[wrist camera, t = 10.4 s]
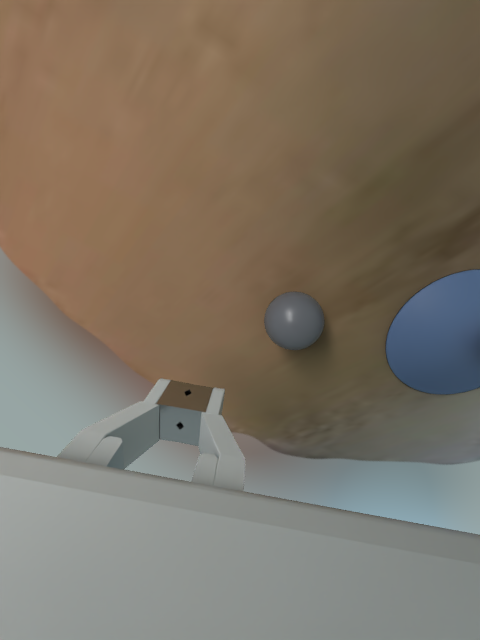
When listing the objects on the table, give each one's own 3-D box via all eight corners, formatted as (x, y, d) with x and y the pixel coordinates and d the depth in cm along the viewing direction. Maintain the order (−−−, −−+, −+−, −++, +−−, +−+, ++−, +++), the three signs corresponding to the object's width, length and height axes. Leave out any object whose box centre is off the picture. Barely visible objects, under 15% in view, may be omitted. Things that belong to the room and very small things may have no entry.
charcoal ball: (325, 345, 18) (342, 327, 22) (290, 283, 18) (314, 278, 22) (271, 366, 21) (295, 347, 25) (243, 313, 21) (271, 303, 26)
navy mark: (362, 322, 24) (363, 323, 24) (512, 237, 20) (514, 237, 20) (417, 411, 27) (418, 412, 27) (556, 353, 23) (558, 354, 23)
